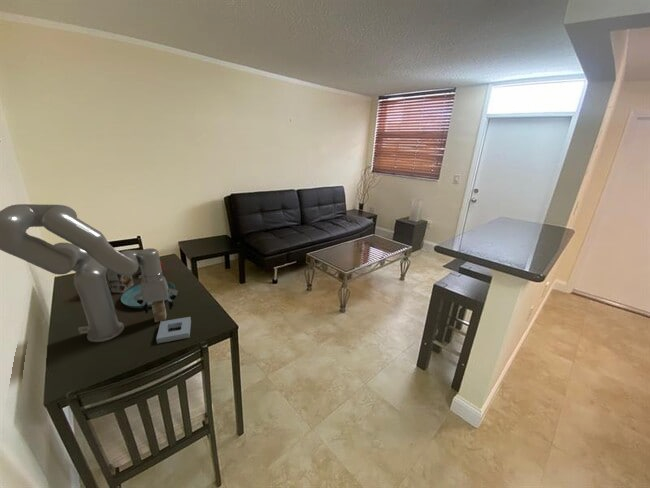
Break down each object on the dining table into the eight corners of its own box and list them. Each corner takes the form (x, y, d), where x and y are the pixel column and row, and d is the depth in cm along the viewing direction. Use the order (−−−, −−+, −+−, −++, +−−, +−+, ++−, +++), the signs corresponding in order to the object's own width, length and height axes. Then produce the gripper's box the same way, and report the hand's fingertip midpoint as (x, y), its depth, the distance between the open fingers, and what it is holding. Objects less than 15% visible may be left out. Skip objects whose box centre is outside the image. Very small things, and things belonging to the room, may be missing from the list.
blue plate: (117, 296, 147) (115, 290, 146) (167, 282, 163) (166, 277, 162) (128, 317, 131) (126, 311, 130) (182, 299, 147) (181, 293, 146)
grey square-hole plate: (157, 343, 115) (156, 338, 114) (161, 326, 126) (160, 321, 125) (189, 337, 119) (188, 332, 119) (191, 321, 130) (190, 316, 129)
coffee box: (123, 293, 149) (116, 265, 144) (111, 292, 149) (104, 265, 144) (134, 284, 158) (128, 258, 152) (123, 284, 158) (116, 258, 152)
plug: (155, 322, 128) (151, 305, 125) (156, 317, 132) (153, 300, 128) (165, 320, 129) (162, 303, 126) (166, 315, 133) (163, 299, 130)
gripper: (127, 283, 116) (135, 317, 123) (173, 277, 122) (179, 311, 129) (131, 275, 123) (139, 308, 129) (175, 270, 129) (180, 302, 135)
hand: (159, 309), depth 129 cm, fingers open, 9 cm apart
